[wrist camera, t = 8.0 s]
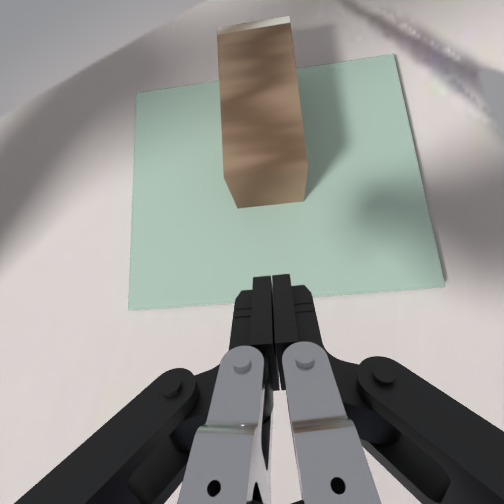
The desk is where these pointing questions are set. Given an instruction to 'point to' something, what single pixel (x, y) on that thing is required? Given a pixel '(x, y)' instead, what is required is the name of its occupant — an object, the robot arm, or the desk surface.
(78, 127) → the desk surface
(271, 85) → the walnut block
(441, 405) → the robot arm
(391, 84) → the sage mat
